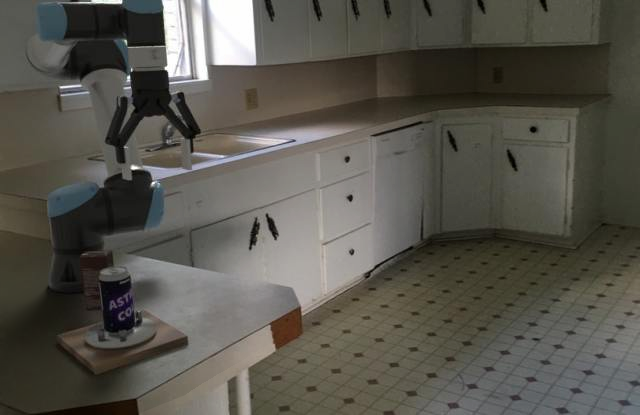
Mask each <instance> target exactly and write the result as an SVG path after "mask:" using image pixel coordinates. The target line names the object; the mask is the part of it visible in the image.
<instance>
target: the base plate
mask: <svg viewBox="0 0 640 415" xmlns="http://www.w3.org/2000/svg"><path fill="white" fill-rule="evenodd" d="M139 311H142V318H147V319H150V320H152V321H153V322H155V324H156V328H157V333H156V335H155V336H154V337H153V338H152V339H151V340H150V341H148V342H146V343H144V344H142V345H139V346H136V347H133V348H129V349H124V350H115V351H103V350H97V349H93V348H91V347H89V346H88V345H87V344H86V341H85V334H86V332H87V331H88V330H89V329H90V328H91V327H93V326H95V325H97V324H99V323H102V322H104V321H101V322H97V323H94V324H90V325H87V326H83V327H80V328H76V329H72V330H70V331H67V332H63V333H60V334H57V335H56V338H57V343H58V345H60V346H61V347H62V348H64V350H66V351H67V352H68V353H69V354H71V355H72V356H73V357H74V358H75V359H76V360H78V362H80V363H81V364H82V365H83V366H85V367H86V368H87V369H88V370H89V371H91V372H92V374H94V375H95V376H97V375H100V374H103V373H105V372H108V371H111V370H114V369H118V368H120V367H123V366H126V365H129V364H132V363H135V362H139V361H140V360H144V359H146V358H148V357H149V358H150V357H152V356H154V355H155V356H156V355H158V354H161V353H163V352H166V351H170V350H171V349H175V348H177V347H181V346H184V345H187V344H189V337H188V336H189V335H187V334H186V333H184V332H182V331H181V330H179V329H177V328H176V327H174V326H172V325H170V324H169V323H168V322H165V321H164V320H162V319H160V318H159V317H157V316H156V315H154V314H152V313H150V312H149V311H147V310H145V309H141V310H139ZM135 312H136V311H134V314H135ZM135 317H136V316H135Z"/></svg>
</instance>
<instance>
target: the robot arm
mask: <svg viewBox="0 0 640 415" xmlns="http://www.w3.org/2000/svg"><path fill="white" fill-rule="evenodd" d="M164 6H165V5H164V3H163V0H122V1H102V2H101V1H92V2H91V1H89V2H88V1H87V2H86V1H83V2H82V1H79V2H78V1H77V2H76V1H49V2H40V3H37V4H36V5H35V7H34V22H35V28H36V33H35V34H34V35H32V37H31V38H30V39H29V40H28V41H27V44H26V47H25V56H26V59H27V61H28V64H29V65H30V66H31V68H32V69H34V70H35V71H36V72H38V74H40V75H43V76H45V77H46V78H50V79H53V80H58V81H60V80H61V81H80V85H81V86H80V87H81V88H82V89H83V90H84V91H87V92H89V98H90V102H91V106H92V111H93V114H94V119H95V120H94V121H95V123H96V128H97V129H96V130H97V132H98V137H99V142H100V147H101V150H102V154H103V159H104V164H105V167H106V172H107V176H106V178H104V180H103V181H102V182H103V187H100V186H99V185H98V183H97V182H93V181H86V182H78V183H73V184H70V185H66V186H62V187H60V188H58V189H57V188H56V189H54V191H52V192H51V193H50V194H49V195H48V196H47V199H46V207H47V208H46V209H47V213H46V215H47V217H48V220H49V222H48V223H49V229H50V237H51V245H52V254H53V255H52V260H51V265H50V269H49V275H48V283H49V285H48V286H49V288H50V289H51V290H52V291H54V292H58V293H63V294H64V293H65V294H68V293H70V294H71V293H72V294H74V293H84V289H83V281H82V274H81V267H80V259H79V256H81V255H82V254H83V253H84V252H86V251H107V249H106V244H105V237H108V236H114V235H115V236H116V235H121V234H129V233H133V232H140V231H141V232H144V231H146V230H150V229H155V228H158V227H159V226H160V225H162V222H163V219H164V214H165V192H164V187H163V184H162V182H161V180H157V179H154V180H153V176H152V173H151V171H150V170H148V169H146V168H144V167H143V165H144V164H143V162H142V159H141V153H140V150H139V145H138V140H137V137H136V134H135V130H136V129H137V127H138V126H139V124H140V123H141V122H142V121H143V119H144V118H145V117H146V118H152V117H155V116H157V117H161V116H164V117H165V119H166V120H168V122H170V124H171V125H172V126H173V127H174V128H175V129H176V130H177V131H178V132H179V133H180V134H181V136H182V138H180V139H179V143H180V154H181V165H182V166H181V168H182V169H183V170H186V171H192V170H193V165H192V164H193V163H192V154H194V151H195V150H194V139H195V138H196V136H197V135H201V133H202V131H201V130H202V129H201V128H200V126H199V125H198V122H197V120H196V118H195V117H194V114H192V111H191V110H190V107H189V106H188V103H187V102H186V98H185V97H186V95H185V92H183V91H174V92H172V93H171V92H170V78H169V77H170V75H169V71H168V69H166V67H168V55H167V54H168V52H167V43H166V41H167V40H166V31H165V30H166V27H165V18H164V17H165V16H164V8H165V7H164ZM128 77H129V81H130V90H131V96H126V92H125V88H124V86H125V84H126V83H127V81H128ZM171 102H173V103H174V104H175V106H176V108H177V110H178V112H179V114H180V115H181V117H182V119H183V120H182V119H181V118H180V117H179V116H178V115H177V114H176V113H175V111H174V110H173V109H172V108H171V106H170V103H171ZM131 105H132V106H133V107H134V108H133V110H132V111H131V112H130V106H131ZM183 121H184V122H183Z"/></svg>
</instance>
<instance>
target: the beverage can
mask: <svg viewBox="0 0 640 415" xmlns="http://www.w3.org/2000/svg"><path fill="white" fill-rule="evenodd" d="M131 277H132V276H131V274H130V272H129V269H128V267H126V266H121V265H118V266H117V265H114V266H113V267H108V268H105V269H103V270H101V271H100V276H99V287H100V296H101V304H102V309H101V311H102V312H101V313H102V319H103V321H104V329H105V330H106V331H107V332H109V333H110V334H112V335H119V330H120V329H125V330H126V333H129V332H130V331H131V330H132V328H133V327H134V326H135V314H134V312H135V306H134V297H133V287H132V278H131ZM103 321H102V322H103Z"/></svg>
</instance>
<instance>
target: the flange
mask: <svg viewBox="0 0 640 415" xmlns="http://www.w3.org/2000/svg"><path fill="white" fill-rule="evenodd" d="M134 312H135V316H136V317H135V326H134V327H133V328H132V330H131V331H130V332H129V333H126V330H125V329H120V330H119V335H112V334H110V333H109V332H107V331H106V330H105V329H104V322H103V321H101V322H102V323H100V322H98V323H99V324H97V325H95V326H93V327H91V328H90V329H89V330H88V331H87V332H86V334H85V341H86V344H87V345H88V346H89V347H91V348H93V349H97V350H103V351H115V350H124V349H129V348H133V347H136V346H139V345H142V344H144V343H146V342H148V341H150V340H151V339H152V338H153V337H154V336H155V335H156V333H157V328H156V324H155V322H153V321H152V320H150V319H147V318H142V311H140V310H136V311H134Z"/></svg>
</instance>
